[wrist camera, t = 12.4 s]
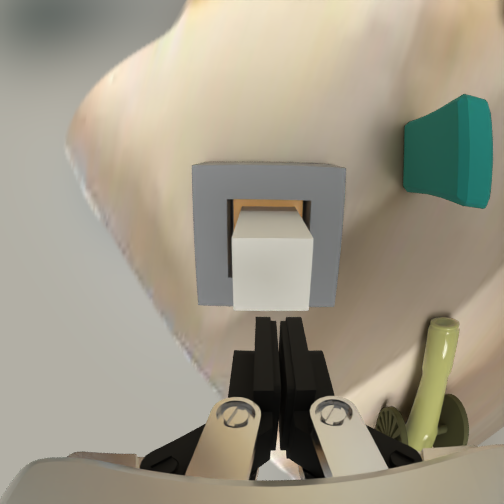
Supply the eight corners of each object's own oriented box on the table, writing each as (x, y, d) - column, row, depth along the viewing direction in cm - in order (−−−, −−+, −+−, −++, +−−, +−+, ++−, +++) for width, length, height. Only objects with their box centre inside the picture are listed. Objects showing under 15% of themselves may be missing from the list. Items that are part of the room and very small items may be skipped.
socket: (328, 164, 29) (346, 168, 23) (321, 278, 33) (334, 306, 27) (206, 162, 30) (191, 165, 24) (209, 276, 34) (198, 305, 27)
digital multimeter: (399, 191, 30) (424, 193, 29) (460, 206, 16) (496, 211, 15) (401, 122, 28) (426, 126, 27) (459, 89, 14) (496, 99, 13)
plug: (295, 206, 27) (313, 238, 18) (293, 256, 29) (308, 310, 19) (241, 206, 27) (231, 238, 18) (242, 256, 29) (233, 310, 19)
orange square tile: (302, 197, 27) (302, 198, 27) (299, 261, 29) (299, 264, 29) (234, 196, 28) (233, 197, 27) (234, 261, 29) (234, 263, 29)
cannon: (400, 316, 35) (440, 374, 24) (472, 307, 34) (518, 352, 24) (366, 441, 43) (382, 494, 32) (427, 428, 42) (448, 475, 31)
